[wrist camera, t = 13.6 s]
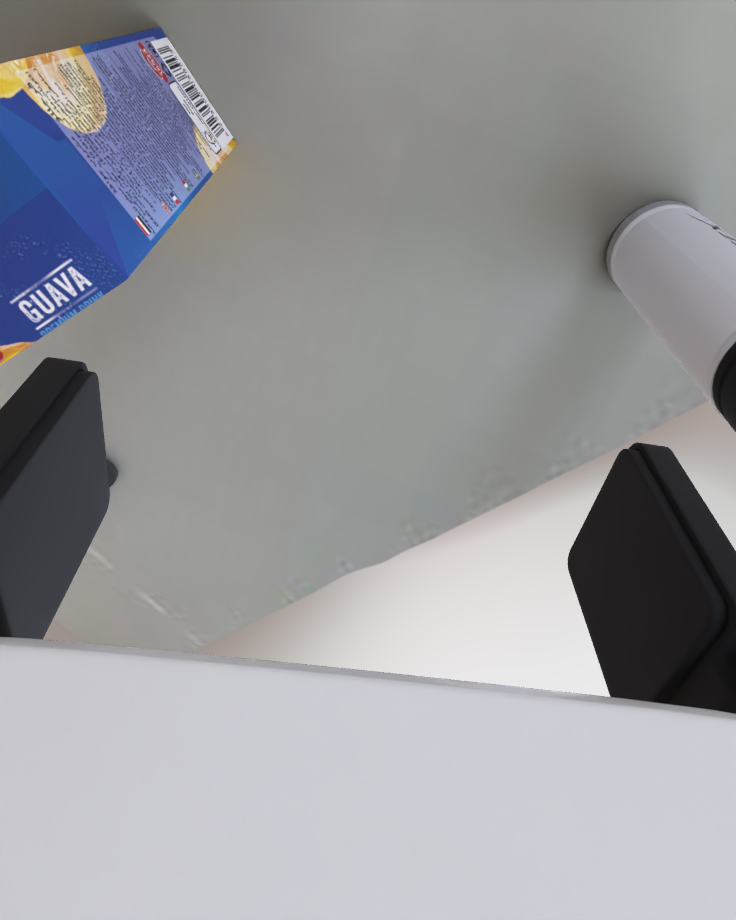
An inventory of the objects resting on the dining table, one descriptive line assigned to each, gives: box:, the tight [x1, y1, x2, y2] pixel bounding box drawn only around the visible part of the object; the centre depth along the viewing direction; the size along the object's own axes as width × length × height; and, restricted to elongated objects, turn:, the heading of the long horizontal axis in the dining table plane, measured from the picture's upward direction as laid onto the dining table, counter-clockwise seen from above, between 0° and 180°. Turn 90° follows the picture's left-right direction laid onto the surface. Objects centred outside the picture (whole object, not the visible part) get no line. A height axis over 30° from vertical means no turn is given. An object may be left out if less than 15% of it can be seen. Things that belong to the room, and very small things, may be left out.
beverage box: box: [0, 27, 237, 365], centre depth 30 cm, size 7×11×22 cm, turn 121°
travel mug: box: [606, 200, 736, 432], centre depth 34 cm, size 6×7×20 cm
